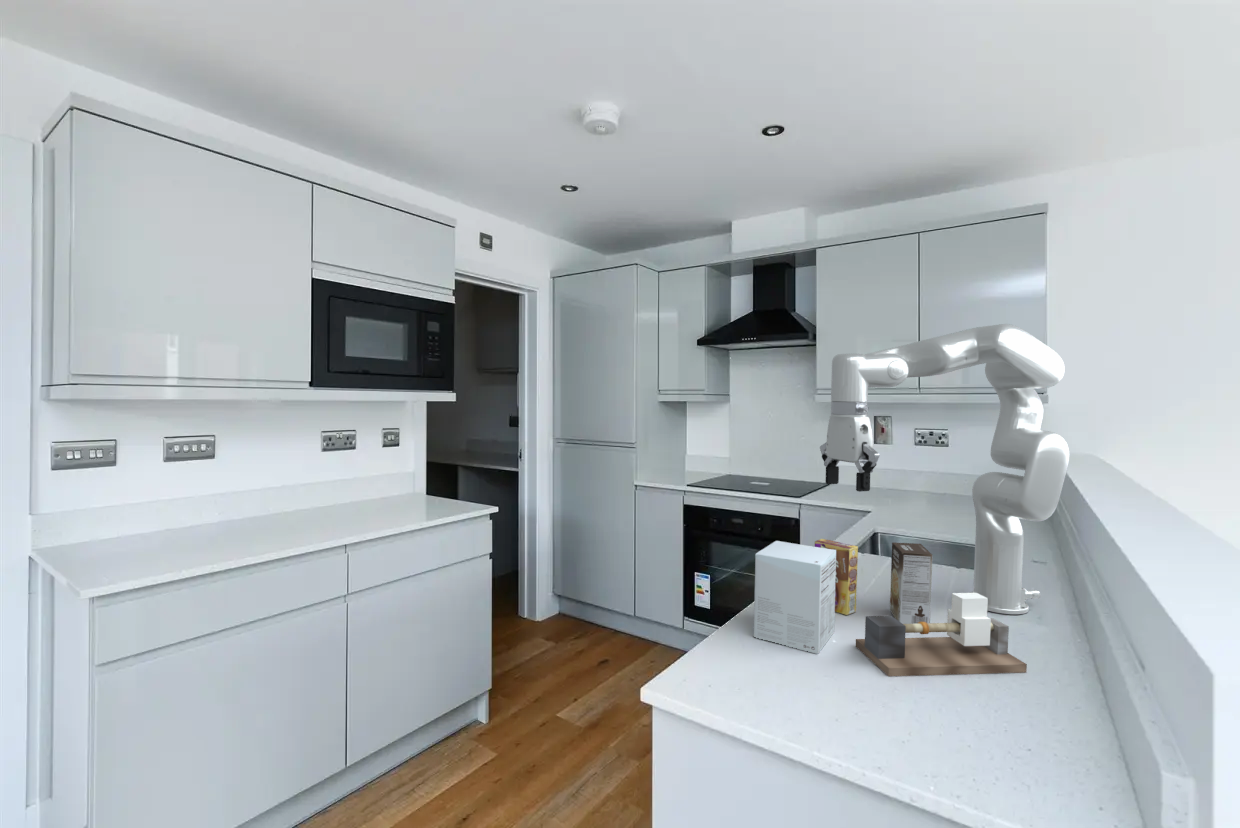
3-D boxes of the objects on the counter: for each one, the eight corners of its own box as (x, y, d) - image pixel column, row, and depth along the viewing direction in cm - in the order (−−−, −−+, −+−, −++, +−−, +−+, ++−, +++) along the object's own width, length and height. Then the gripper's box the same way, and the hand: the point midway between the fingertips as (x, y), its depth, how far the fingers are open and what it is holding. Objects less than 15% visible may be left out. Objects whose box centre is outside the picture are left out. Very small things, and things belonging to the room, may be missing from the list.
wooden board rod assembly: (979, 643, 117) (981, 606, 117) (1026, 672, 105) (1028, 631, 105) (855, 646, 115) (856, 609, 114) (888, 676, 103) (890, 634, 102)
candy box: (857, 612, 133) (859, 545, 132) (847, 616, 130) (849, 548, 130) (822, 600, 140) (823, 537, 139) (811, 604, 137) (813, 540, 137)
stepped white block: (971, 634, 113) (973, 590, 113) (989, 645, 108) (991, 600, 108) (946, 634, 112) (948, 591, 112) (964, 646, 108) (966, 600, 107)
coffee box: (888, 610, 134) (890, 541, 134) (918, 612, 133) (920, 543, 132) (899, 625, 125) (901, 552, 125) (931, 628, 124) (934, 554, 124)
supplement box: (835, 632, 122) (838, 549, 121) (818, 655, 111) (821, 564, 110) (773, 617, 129) (775, 539, 128) (752, 638, 118) (754, 553, 117)
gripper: (892, 411, 121) (890, 493, 122) (835, 408, 138) (834, 480, 138) (863, 411, 119) (861, 495, 120) (809, 408, 135) (807, 482, 136)
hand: (846, 487), depth 129 cm, fingers open, 9 cm apart
